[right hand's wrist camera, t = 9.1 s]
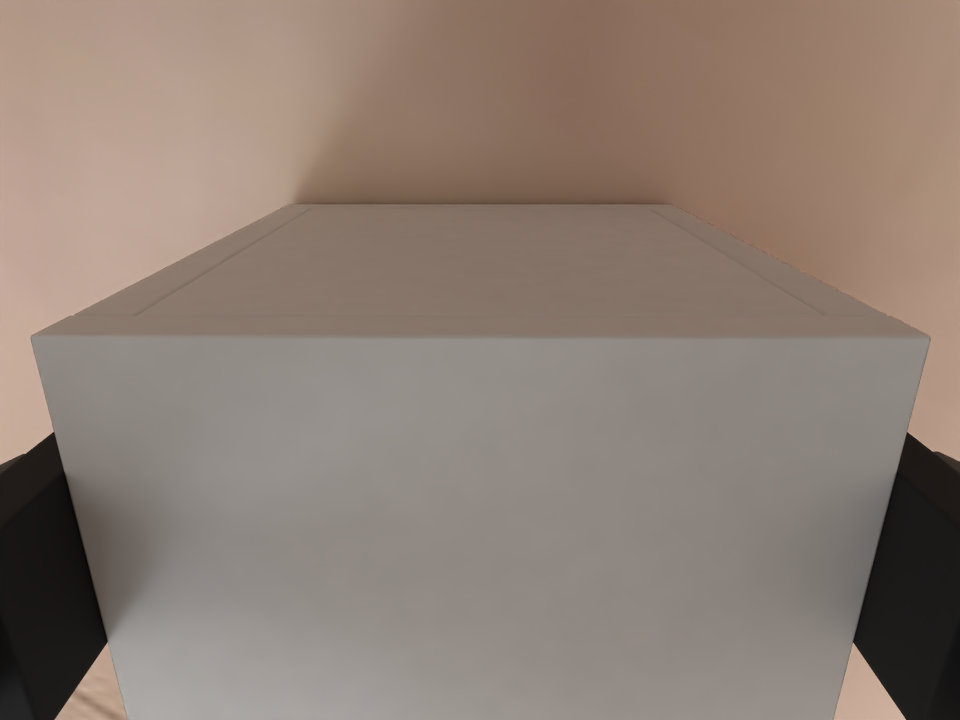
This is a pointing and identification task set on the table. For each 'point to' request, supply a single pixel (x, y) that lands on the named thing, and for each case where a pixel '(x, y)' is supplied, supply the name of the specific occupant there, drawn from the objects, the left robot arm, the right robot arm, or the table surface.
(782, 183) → the table surface
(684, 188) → the table surface
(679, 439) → the cabinet
